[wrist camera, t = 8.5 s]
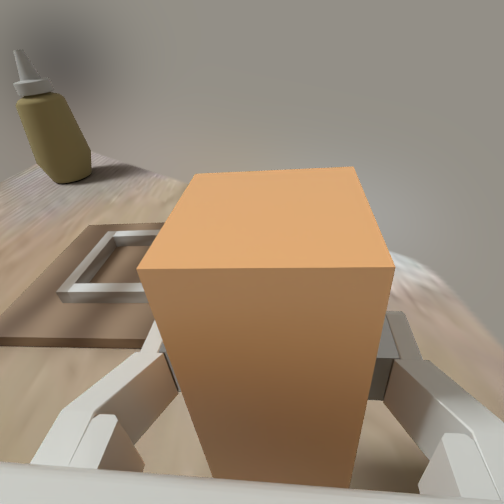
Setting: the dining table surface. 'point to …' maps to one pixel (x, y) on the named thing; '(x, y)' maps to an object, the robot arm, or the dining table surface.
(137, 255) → the collar board
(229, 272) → the orange peg
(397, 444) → the dining table surface
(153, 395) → the robot arm
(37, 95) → the squeeze bottle
